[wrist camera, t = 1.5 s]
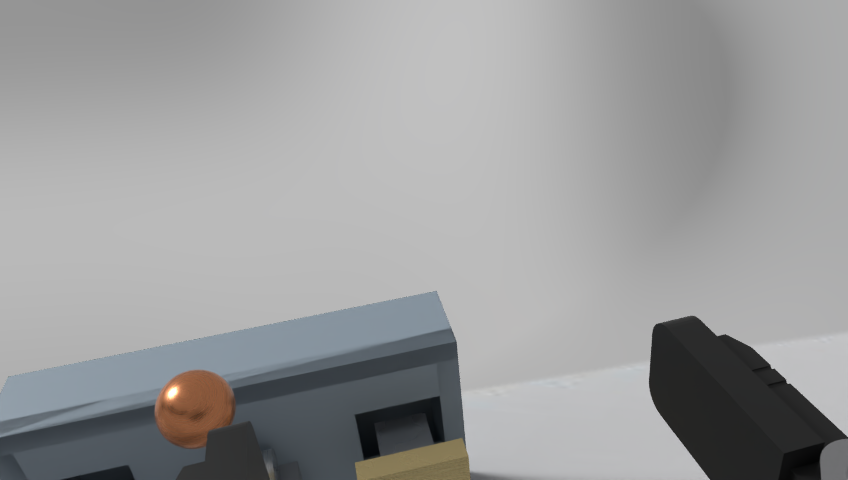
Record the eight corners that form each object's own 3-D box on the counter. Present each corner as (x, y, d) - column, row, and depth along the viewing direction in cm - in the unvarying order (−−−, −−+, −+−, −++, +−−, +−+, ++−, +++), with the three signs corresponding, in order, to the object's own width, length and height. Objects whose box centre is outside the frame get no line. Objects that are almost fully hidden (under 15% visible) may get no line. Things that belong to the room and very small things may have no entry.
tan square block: (372, 551, 29) (357, 481, 27) (361, 479, 33) (347, 411, 30) (474, 526, 30) (468, 455, 27) (452, 458, 33) (445, 389, 31)
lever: (225, 517, 29) (142, 442, 21) (221, 458, 31) (143, 366, 22) (285, 503, 30) (228, 424, 21) (278, 446, 31) (223, 349, 22)
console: (84, 646, 33) (-35, 465, 26) (105, 551, 37) (8, 376, 30) (479, 546, 35) (463, 358, 29) (455, 469, 40) (436, 291, 33)
